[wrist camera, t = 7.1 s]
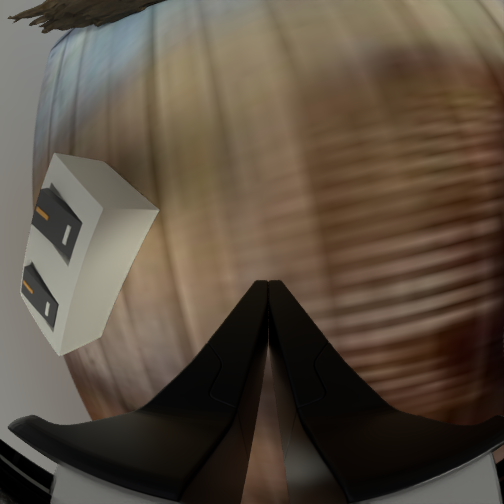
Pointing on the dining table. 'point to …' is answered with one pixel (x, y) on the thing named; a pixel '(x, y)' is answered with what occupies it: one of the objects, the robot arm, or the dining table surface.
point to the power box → (88, 248)
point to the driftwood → (81, 12)
